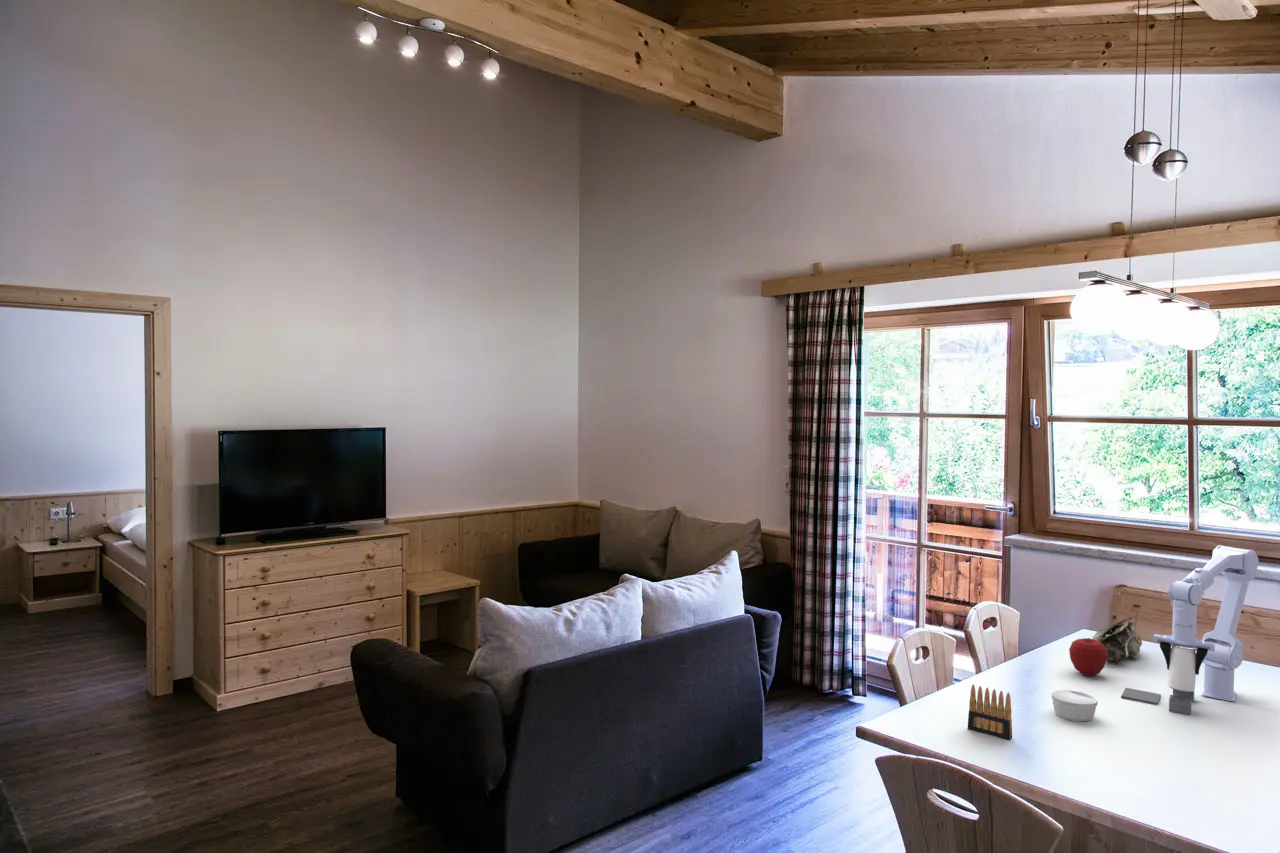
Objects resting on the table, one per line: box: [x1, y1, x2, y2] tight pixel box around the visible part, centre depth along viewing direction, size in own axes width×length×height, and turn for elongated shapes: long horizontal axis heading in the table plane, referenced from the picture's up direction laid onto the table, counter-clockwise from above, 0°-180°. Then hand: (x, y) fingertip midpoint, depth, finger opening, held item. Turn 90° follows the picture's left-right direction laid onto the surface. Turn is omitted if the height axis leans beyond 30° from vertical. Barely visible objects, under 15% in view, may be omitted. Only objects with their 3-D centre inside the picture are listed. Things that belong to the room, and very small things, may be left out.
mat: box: [1120, 687, 1162, 706], centre depth 244 cm, size 9×9×1 cm
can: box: [1167, 644, 1197, 692], centre depth 237 cm, size 6×6×12 cm
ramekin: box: [1051, 689, 1099, 722], centre depth 229 cm, size 11×11×5 cm
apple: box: [1068, 637, 1108, 677], centre depth 263 cm, size 11×11×12 cm
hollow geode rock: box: [1092, 616, 1143, 665], centre depth 280 cm, size 28×13×15 cm
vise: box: [1168, 689, 1195, 716], centre depth 238 cm, size 17×5×4 cm, turn 143°
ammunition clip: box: [967, 684, 1013, 741], centre depth 216 cm, size 11×2×12 cm, turn 50°
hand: (1182, 671), depth 237 cm, fingers closed on can, 6 cm apart
